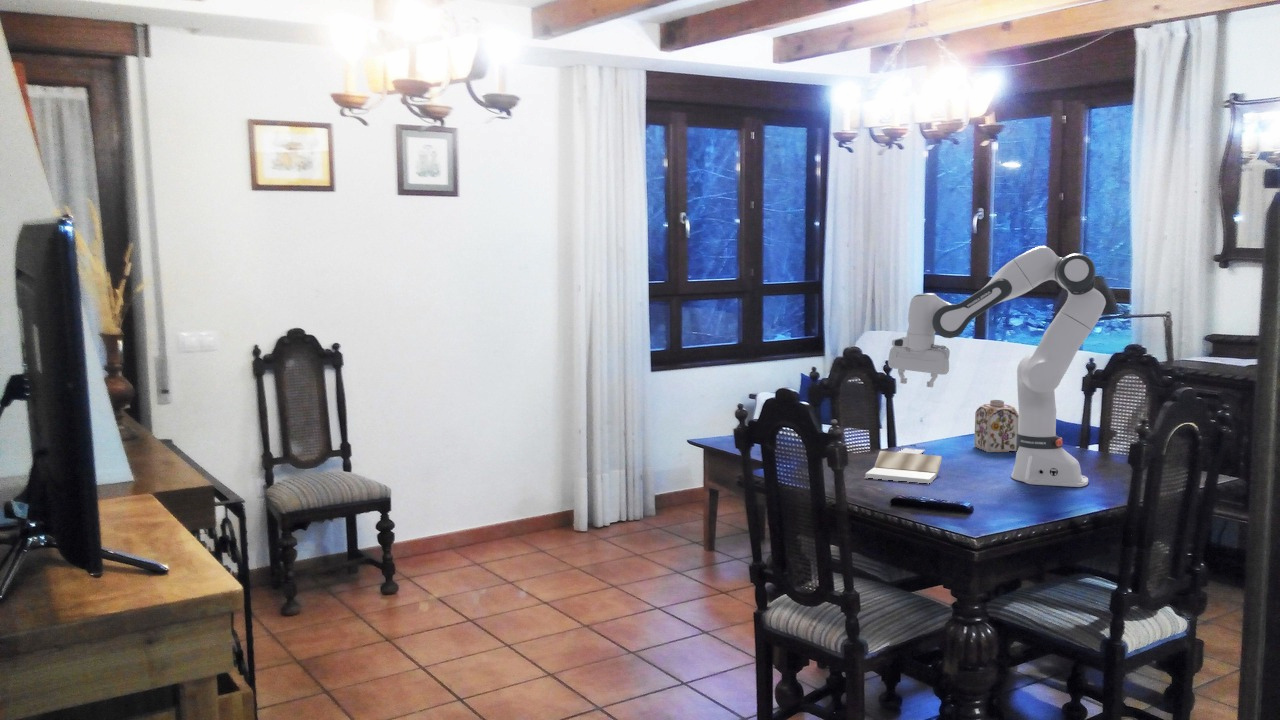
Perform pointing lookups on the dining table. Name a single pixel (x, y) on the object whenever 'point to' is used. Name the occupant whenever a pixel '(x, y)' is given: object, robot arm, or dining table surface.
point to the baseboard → (911, 450)
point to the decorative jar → (996, 427)
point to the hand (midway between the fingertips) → (916, 385)
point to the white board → (900, 475)
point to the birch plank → (908, 462)
